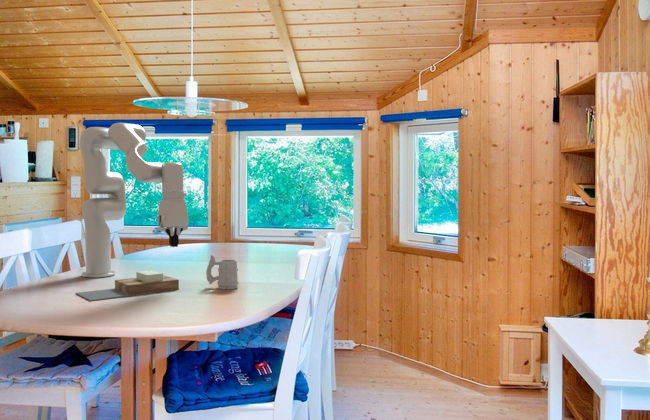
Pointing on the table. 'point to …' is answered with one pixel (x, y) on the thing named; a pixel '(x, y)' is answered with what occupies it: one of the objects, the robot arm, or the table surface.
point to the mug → (223, 273)
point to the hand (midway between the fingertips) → (174, 246)
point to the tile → (149, 276)
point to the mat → (103, 294)
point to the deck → (146, 285)
